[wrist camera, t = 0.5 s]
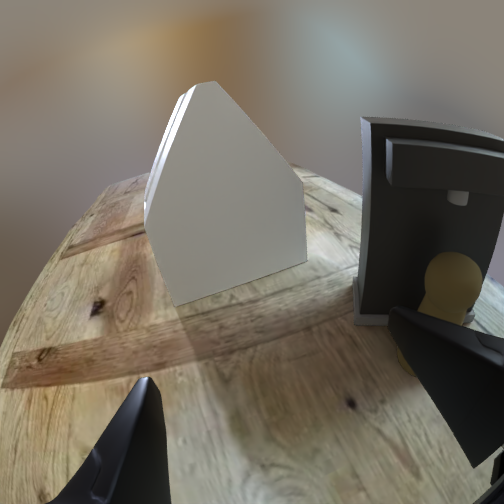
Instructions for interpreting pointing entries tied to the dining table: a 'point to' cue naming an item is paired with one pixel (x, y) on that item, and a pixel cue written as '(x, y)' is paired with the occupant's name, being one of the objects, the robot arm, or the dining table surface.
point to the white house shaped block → (220, 200)
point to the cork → (448, 290)
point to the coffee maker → (423, 208)
